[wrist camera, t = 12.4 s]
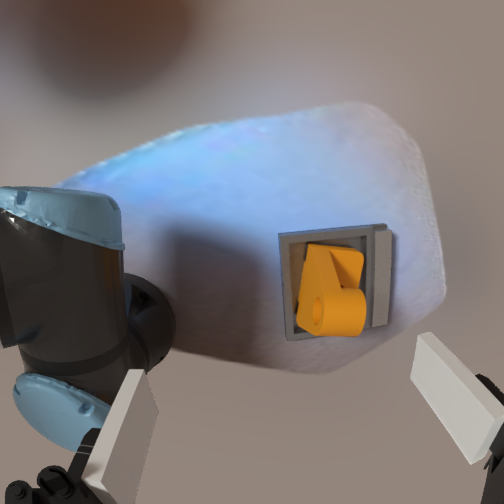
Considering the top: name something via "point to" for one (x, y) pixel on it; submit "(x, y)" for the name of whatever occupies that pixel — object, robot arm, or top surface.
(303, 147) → the top surface
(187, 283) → the top surface
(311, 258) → the bracket
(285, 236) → the tray
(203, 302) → the top surface
